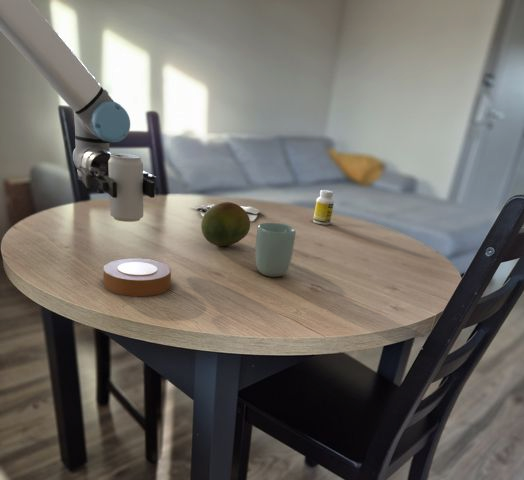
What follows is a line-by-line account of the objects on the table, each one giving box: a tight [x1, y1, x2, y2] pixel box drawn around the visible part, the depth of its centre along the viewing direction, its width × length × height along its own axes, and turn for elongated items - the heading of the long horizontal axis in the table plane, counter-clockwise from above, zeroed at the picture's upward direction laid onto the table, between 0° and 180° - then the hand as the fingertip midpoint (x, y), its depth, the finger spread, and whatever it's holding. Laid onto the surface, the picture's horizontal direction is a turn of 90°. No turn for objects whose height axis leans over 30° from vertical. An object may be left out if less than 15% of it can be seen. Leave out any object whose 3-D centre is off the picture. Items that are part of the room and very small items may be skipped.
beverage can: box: [108, 152, 144, 223], centre depth 94 cm, size 6×6×12 cm
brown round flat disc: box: [102, 258, 172, 297], centre depth 89 cm, size 12×12×3 cm
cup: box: [254, 222, 296, 278], centre depth 101 cm, size 8×8×10 cm
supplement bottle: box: [312, 189, 335, 226], centre depth 150 cm, size 5×5×10 cm
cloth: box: [193, 203, 261, 222], centre depth 149 cm, size 20×22×2 cm
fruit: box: [200, 201, 251, 247], centre depth 116 cm, size 12×13×10 cm
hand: (134, 190), depth 90 cm, fingers closed on beverage can, 6 cm apart
